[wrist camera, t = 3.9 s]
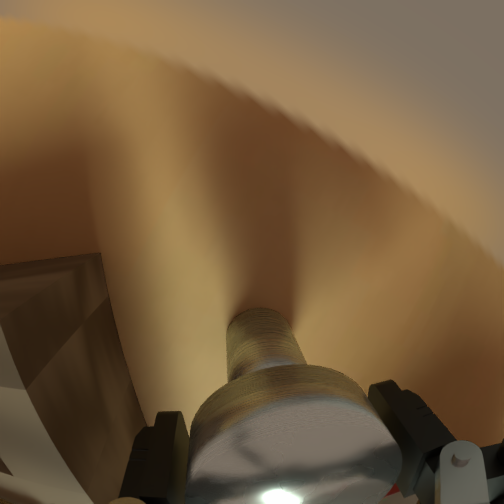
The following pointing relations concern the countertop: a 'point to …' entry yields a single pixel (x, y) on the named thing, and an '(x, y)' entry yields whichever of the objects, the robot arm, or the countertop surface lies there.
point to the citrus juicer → (397, 497)
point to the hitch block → (62, 385)
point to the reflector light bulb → (286, 428)
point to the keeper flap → (3, 503)
